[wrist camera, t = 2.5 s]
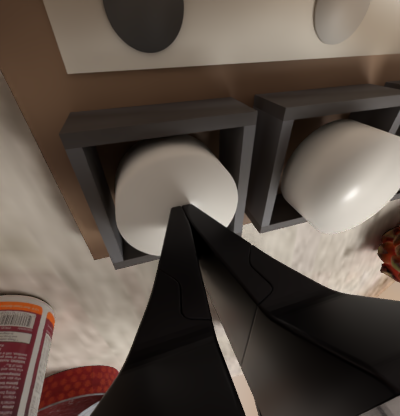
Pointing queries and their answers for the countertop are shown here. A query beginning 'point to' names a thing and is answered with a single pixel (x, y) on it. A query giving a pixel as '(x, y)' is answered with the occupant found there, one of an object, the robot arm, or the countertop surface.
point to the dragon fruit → (390, 254)
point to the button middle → (342, 175)
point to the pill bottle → (23, 352)
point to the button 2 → (169, 188)
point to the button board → (194, 90)
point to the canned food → (75, 391)
